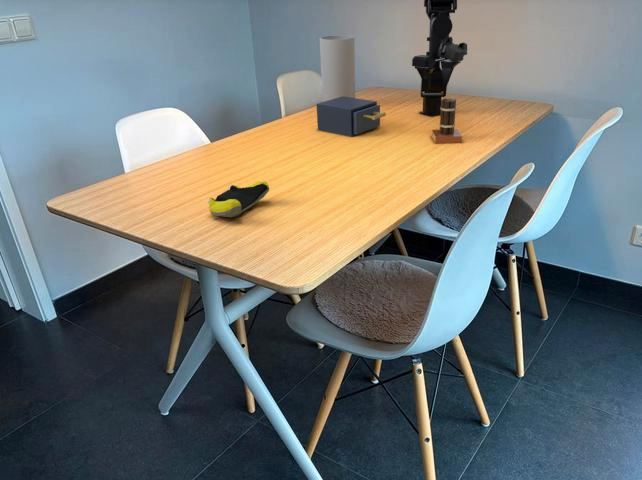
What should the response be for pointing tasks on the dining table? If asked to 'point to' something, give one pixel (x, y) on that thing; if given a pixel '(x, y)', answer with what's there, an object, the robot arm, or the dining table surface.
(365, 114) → the drawer
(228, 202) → the black and yellow sneaker
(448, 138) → the stand
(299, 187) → the dining table surface
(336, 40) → the cylinder vase
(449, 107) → the bundle
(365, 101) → the cabinet
